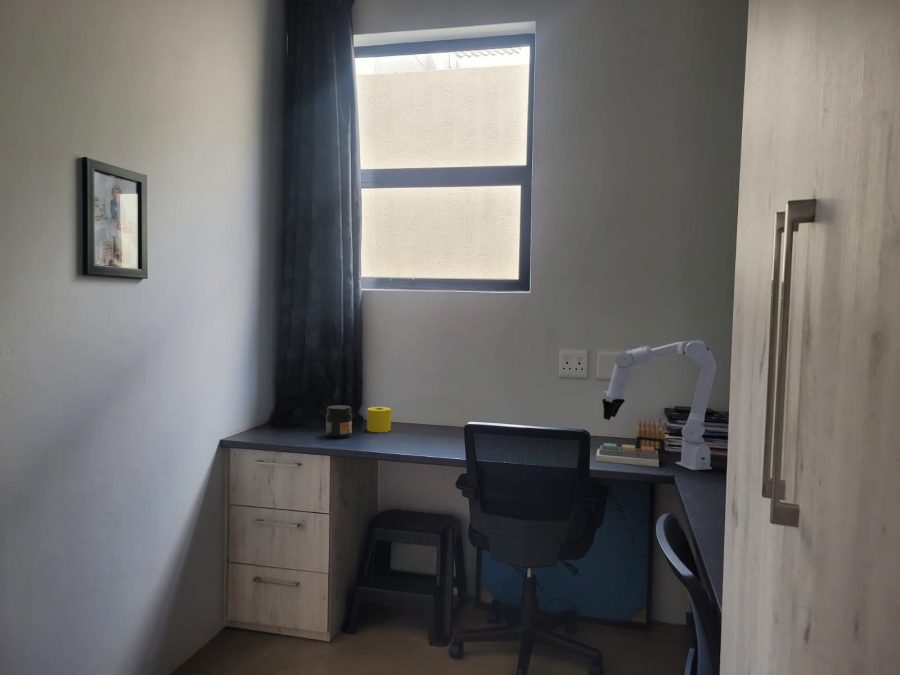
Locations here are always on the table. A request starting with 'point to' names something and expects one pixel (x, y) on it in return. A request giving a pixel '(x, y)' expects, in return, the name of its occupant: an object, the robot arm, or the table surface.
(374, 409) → the tape roll
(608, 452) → the button pad
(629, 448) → the ochre key
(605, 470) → the table surface
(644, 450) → the terracotta key
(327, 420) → the supplement container
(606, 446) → the teal key
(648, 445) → the ammunition clip
